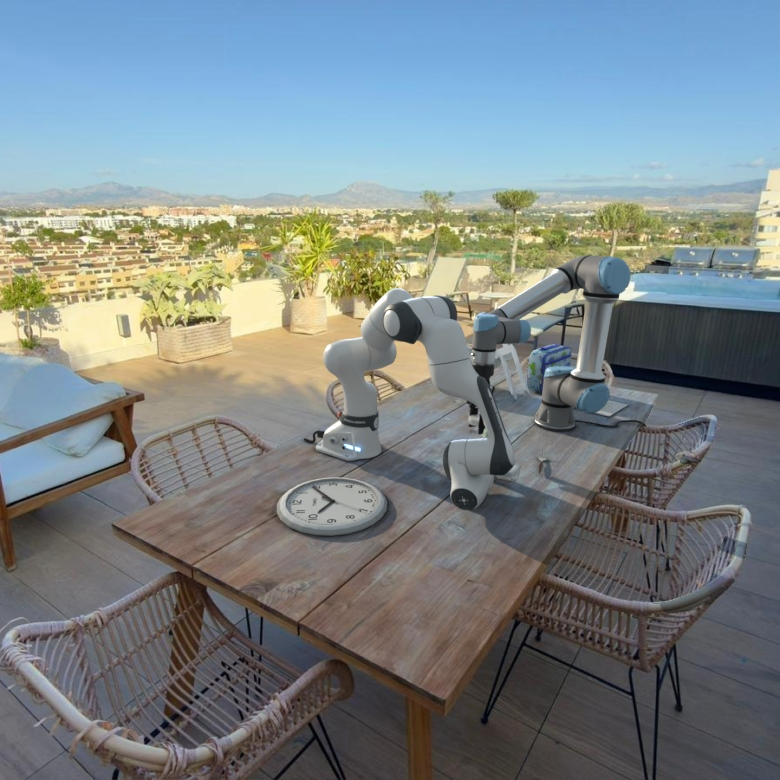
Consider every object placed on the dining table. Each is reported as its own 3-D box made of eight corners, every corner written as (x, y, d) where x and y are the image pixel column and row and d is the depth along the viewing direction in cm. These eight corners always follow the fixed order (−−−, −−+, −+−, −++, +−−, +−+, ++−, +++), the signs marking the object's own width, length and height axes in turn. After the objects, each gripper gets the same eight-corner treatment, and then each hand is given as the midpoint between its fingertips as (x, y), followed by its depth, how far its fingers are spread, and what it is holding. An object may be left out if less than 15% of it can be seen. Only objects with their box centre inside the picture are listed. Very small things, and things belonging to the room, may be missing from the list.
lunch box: (543, 396, 238) (548, 352, 231) (522, 391, 245) (526, 347, 239) (570, 385, 255) (575, 343, 249) (550, 381, 262) (555, 340, 256)
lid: (490, 425, 172) (490, 420, 172) (473, 427, 170) (474, 421, 170) (481, 419, 178) (481, 413, 177) (465, 420, 176) (465, 415, 175)
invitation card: (608, 416, 214) (573, 407, 224) (608, 416, 214) (573, 408, 224) (628, 404, 229) (594, 396, 238) (628, 405, 229) (594, 397, 238)
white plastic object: (461, 429, 252) (437, 405, 227) (444, 352, 274) (420, 323, 250) (535, 404, 240) (518, 377, 215) (510, 326, 262) (492, 293, 237)
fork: (534, 474, 163) (535, 468, 162) (539, 454, 177) (539, 449, 176) (543, 475, 162) (544, 469, 161) (547, 455, 176) (547, 450, 175)
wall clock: (392, 527, 129) (268, 531, 127) (391, 533, 130) (269, 537, 127) (383, 473, 158) (282, 475, 155) (383, 478, 158) (282, 480, 156)
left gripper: (516, 471, 143) (525, 453, 155) (445, 458, 151) (459, 441, 163) (514, 492, 145) (523, 472, 157) (444, 478, 153) (457, 459, 165)
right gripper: (459, 356, 175) (454, 421, 182) (486, 371, 158) (480, 441, 165) (479, 355, 178) (474, 419, 185) (508, 369, 161) (501, 439, 167)
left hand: (490, 456), depth 160 cm, fingers closed on jar, 5 cm apart
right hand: (477, 429), depth 175 cm, fingers closed on lid, 6 cm apart
